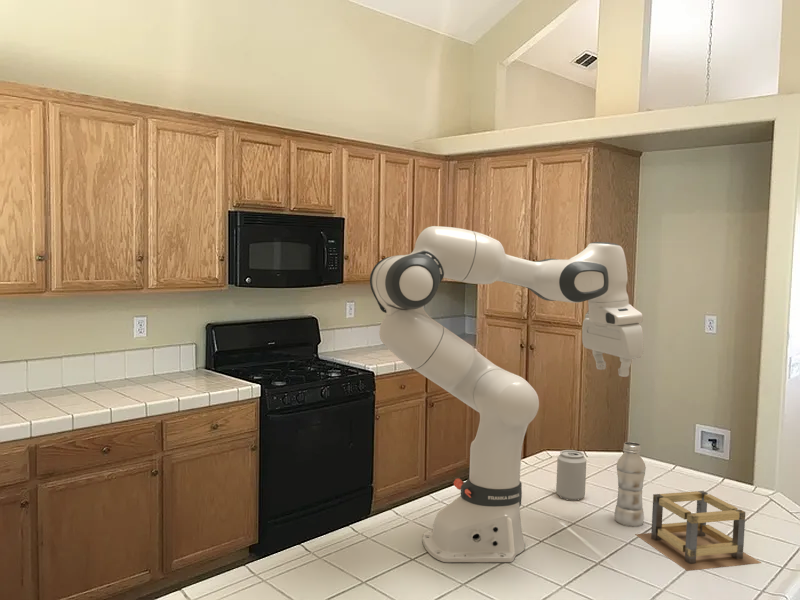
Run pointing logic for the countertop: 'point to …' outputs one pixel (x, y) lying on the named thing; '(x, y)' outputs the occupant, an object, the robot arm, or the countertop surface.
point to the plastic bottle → (630, 486)
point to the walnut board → (701, 561)
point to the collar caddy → (698, 524)
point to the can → (571, 475)
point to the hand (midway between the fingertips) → (612, 372)
